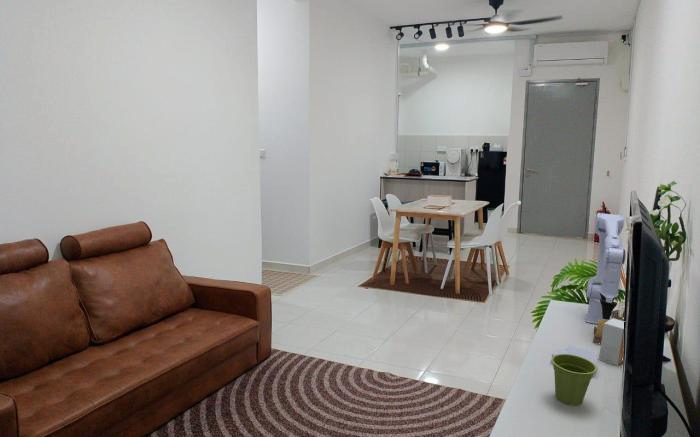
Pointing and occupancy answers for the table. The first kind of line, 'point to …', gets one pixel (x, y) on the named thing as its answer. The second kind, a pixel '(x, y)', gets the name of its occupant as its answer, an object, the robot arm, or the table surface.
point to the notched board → (597, 336)
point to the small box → (612, 342)
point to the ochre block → (600, 326)
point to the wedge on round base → (577, 353)
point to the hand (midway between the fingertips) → (605, 315)
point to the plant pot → (572, 377)
